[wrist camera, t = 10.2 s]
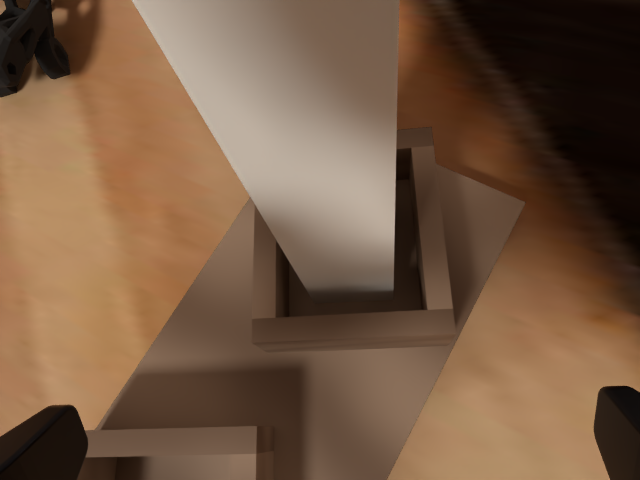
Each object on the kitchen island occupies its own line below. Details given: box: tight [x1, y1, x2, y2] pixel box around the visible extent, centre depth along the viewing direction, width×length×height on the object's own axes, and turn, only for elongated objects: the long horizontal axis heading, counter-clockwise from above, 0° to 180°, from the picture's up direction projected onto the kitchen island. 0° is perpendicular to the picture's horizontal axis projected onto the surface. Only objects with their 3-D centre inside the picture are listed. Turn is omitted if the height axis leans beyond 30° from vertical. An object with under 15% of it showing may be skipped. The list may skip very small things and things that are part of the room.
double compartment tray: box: [77, 127, 526, 480], centre depth 18 cm, size 22×10×4 cm, turn 149°
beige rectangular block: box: [132, 0, 399, 303], centre depth 13 cm, size 4×3×15 cm
